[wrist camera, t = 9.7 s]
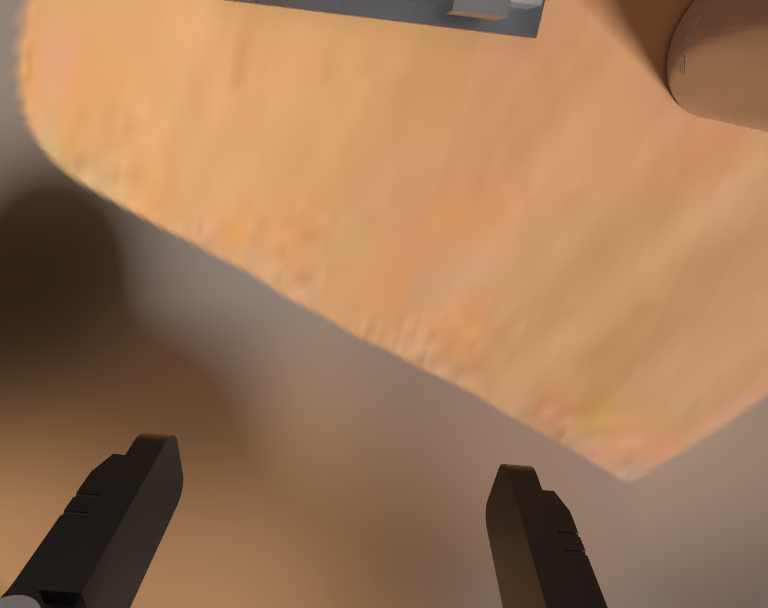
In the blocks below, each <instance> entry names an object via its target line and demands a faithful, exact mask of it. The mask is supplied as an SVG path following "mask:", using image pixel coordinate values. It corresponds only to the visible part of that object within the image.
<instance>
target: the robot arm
mask: <svg viewBox="0 0 768 608" xmlns="http://www.w3.org/2000/svg"><path fill="white" fill-rule="evenodd" d="M666 70H667V78H668V84H669V87H670V90H671V92H672V95H673V97H674V98H675V99H676V101H677V102H678V104H679V105H680V106H681V107H683V108H684V109H685V110H687V111H688V112H689V113H692V114H694V115H697V116H700V117H704V118H708V119H713V120H717V121H722V122H726V123H731V124H734V125H738V126H743V127H747V128H752V129H756V130H761V131H765V132H768V0H695V1H694V2H693V3H692V4H691V5H690V7H689V8H688V10H687V11H686V13H685V14H684V16H683V17H682V19H681V20H680V22H679V24H678V26H677V29H676V31H675V33H674V35H673V37H672V41H671V44H670V48H669V52H668V58H667V69H666ZM182 488H183V472H182V466H181V460H180V454H179V448H178V442H177V438H176V437H175V436H174V435H163V434H151V433H141V434H140V435H139V436H138V437H137V438H136V439H135V441H134V442H133V444H132V445H131V447H130V448H129V450H128V451H127V453H126V454H125V455H119V454H112V455H111V456H110V457H109V458H108V459H106V460H105V461H104V462H102V463H101V464H100V465H99V466H98V467H96V468H95V469H94V470H92V471H91V473H90V474H89V475H88V477H87V478H86V480H85V481H84V483H83V484H82V485H81V487H80V488H79V490H78V491H77V494H76V496H75V497H73V498H72V500H71V501H70V503H69V504H68V505H67V507H66V508H65V510H64V514H63V515H60V517H59V518H58V520H57V521H56V523H55V524H54V525H53V527H52V528H51V530H50V531H49V533H48V534H47V536H46V537H45V538H44V540H43V541H42V543H41V544H40V545H39V547H38V548H37V550H36V551H35V553H34V554H33V556H32V557H31V558H30V560H29V561H28V563H27V564H26V565H25V567H24V568H23V570H22V571H21V573H20V574H19V575H18V577H17V578H16V580H15V581H14V583H13V584H12V585H11V586H10V588H9V589H8V590H7V591H6V593H4V595H3V596H2V597H1V598H0V608H130V607H131V604H132V602H133V600H134V598H135V596H136V594H137V592H138V589H139V587H140V585H141V583H142V580H143V578H144V576H145V574H146V572H147V570H148V568H149V565H150V563H151V561H152V559H153V557H154V555H155V552H156V550H157V548H158V546H159V544H160V541H161V539H162V537H163V535H164V533H165V531H166V528H167V526H168V524H169V522H170V520H171V518H172V515H173V513H174V511H175V509H176V507H177V505H178V502H179V500H180V496H181V493H182ZM486 526H487V532H488V537H489V542H490V547H491V551H492V556H493V561H494V566H495V571H496V576H497V580H498V585H499V591H500V596H501V600H502V605H503V608H608V607H607V605H606V602H605V600H604V597H603V595H602V592H601V590H600V587H599V585H598V582H597V579H596V577H595V574H594V572H593V569H592V567H591V564H590V561H589V559H588V556H586V555H585V549H584V546H583V544H582V541H581V539H580V537H578V531H577V528H576V526H575V523H574V521H573V518H572V515H571V513H570V511H569V509H568V508H567V507H566V506H565V504H564V503H563V502H562V501H561V499H560V498H559V497H558V496H557V494H556V493H555V492H554V491H547V490H542V488H541V485H540V482H539V479H538V477H537V474H536V472H535V470H534V468H533V467H531V466H520V465H519V466H518V465H507V464H502V465H500V467H499V469H498V472H497V475H496V478H495V481H494V484H493V486H492V489H491V492H490V495H489V498H488V501H487V505H486Z"/></svg>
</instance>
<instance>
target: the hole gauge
mask: <svg viewBox="0 0 768 608" xmlns="http://www.w3.org/2000/svg"><path fill="white" fill-rule="evenodd" d="M226 1H234V2H242V3H250V4H258V5H266V6H275V7H283V8H291V9H299V10H307V11H315V12H323V13H331V14H340V15H348V16H356V17H364V18H372V19H380V20H388V21H396V22H405V23H413V24H421V25H429V26H437V27H445V28H453V29H461V30H470V31H478V32H486V33H494V34H502V35H510V36H518V37H526V38H536V37H537V32H538V28H539V24H540V20H541V15H542V11H543V7H544V3H545V0H226Z"/></svg>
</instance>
